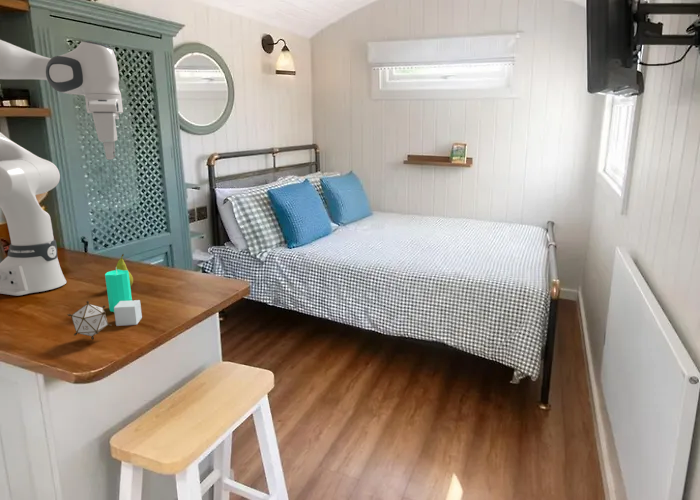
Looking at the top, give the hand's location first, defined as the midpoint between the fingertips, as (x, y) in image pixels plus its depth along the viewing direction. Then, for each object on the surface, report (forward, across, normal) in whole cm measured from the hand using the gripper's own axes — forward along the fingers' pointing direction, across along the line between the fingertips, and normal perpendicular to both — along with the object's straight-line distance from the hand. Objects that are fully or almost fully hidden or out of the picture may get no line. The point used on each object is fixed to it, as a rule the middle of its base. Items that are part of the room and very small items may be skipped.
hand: (111, 158), depth 135 cm
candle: (+41, +8, -2) cm, 42 cm away
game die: (+41, +28, -7) cm, 50 cm away
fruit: (+41, -10, -1) cm, 42 cm away
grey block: (+41, +19, +1) cm, 45 cm away
